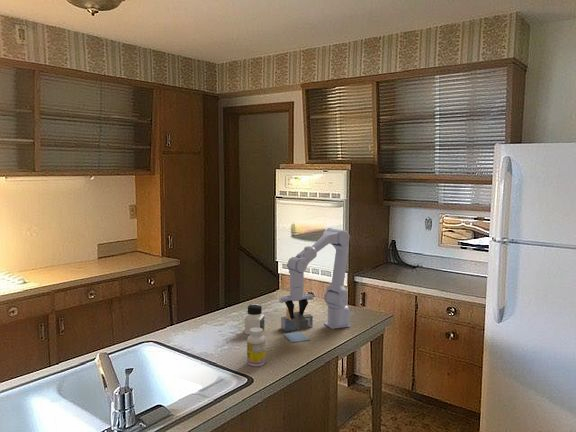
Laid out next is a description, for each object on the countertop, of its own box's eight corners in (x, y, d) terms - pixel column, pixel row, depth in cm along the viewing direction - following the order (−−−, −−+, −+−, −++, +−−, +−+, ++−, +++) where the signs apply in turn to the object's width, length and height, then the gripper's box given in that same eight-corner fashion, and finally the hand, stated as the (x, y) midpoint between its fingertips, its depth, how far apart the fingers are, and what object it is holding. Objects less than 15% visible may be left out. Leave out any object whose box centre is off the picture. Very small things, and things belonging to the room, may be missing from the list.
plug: (294, 315, 210) (294, 307, 209) (307, 328, 196) (308, 320, 196) (286, 316, 209) (286, 308, 208) (299, 329, 195) (299, 321, 194)
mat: (300, 332, 210) (300, 331, 210) (309, 340, 200) (309, 339, 200) (282, 334, 207) (283, 333, 207) (291, 343, 198) (291, 342, 198)
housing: (309, 324, 220) (309, 312, 219) (313, 328, 215) (314, 315, 215) (281, 328, 215) (281, 315, 214) (285, 331, 210) (285, 319, 210)
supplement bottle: (247, 359, 181) (247, 326, 179) (264, 359, 181) (265, 326, 180) (247, 367, 174) (247, 332, 173) (265, 366, 175) (265, 332, 173)
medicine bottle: (260, 335, 205) (260, 308, 204) (244, 334, 207) (244, 307, 205) (264, 330, 212) (264, 303, 211) (248, 328, 214) (248, 302, 212)
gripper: (308, 282, 207) (308, 312, 209) (276, 285, 202) (276, 316, 204) (315, 286, 201) (315, 317, 202) (282, 289, 196) (282, 321, 197)
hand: (296, 317), depth 203 cm, fingers closed on plug, 4 cm apart
